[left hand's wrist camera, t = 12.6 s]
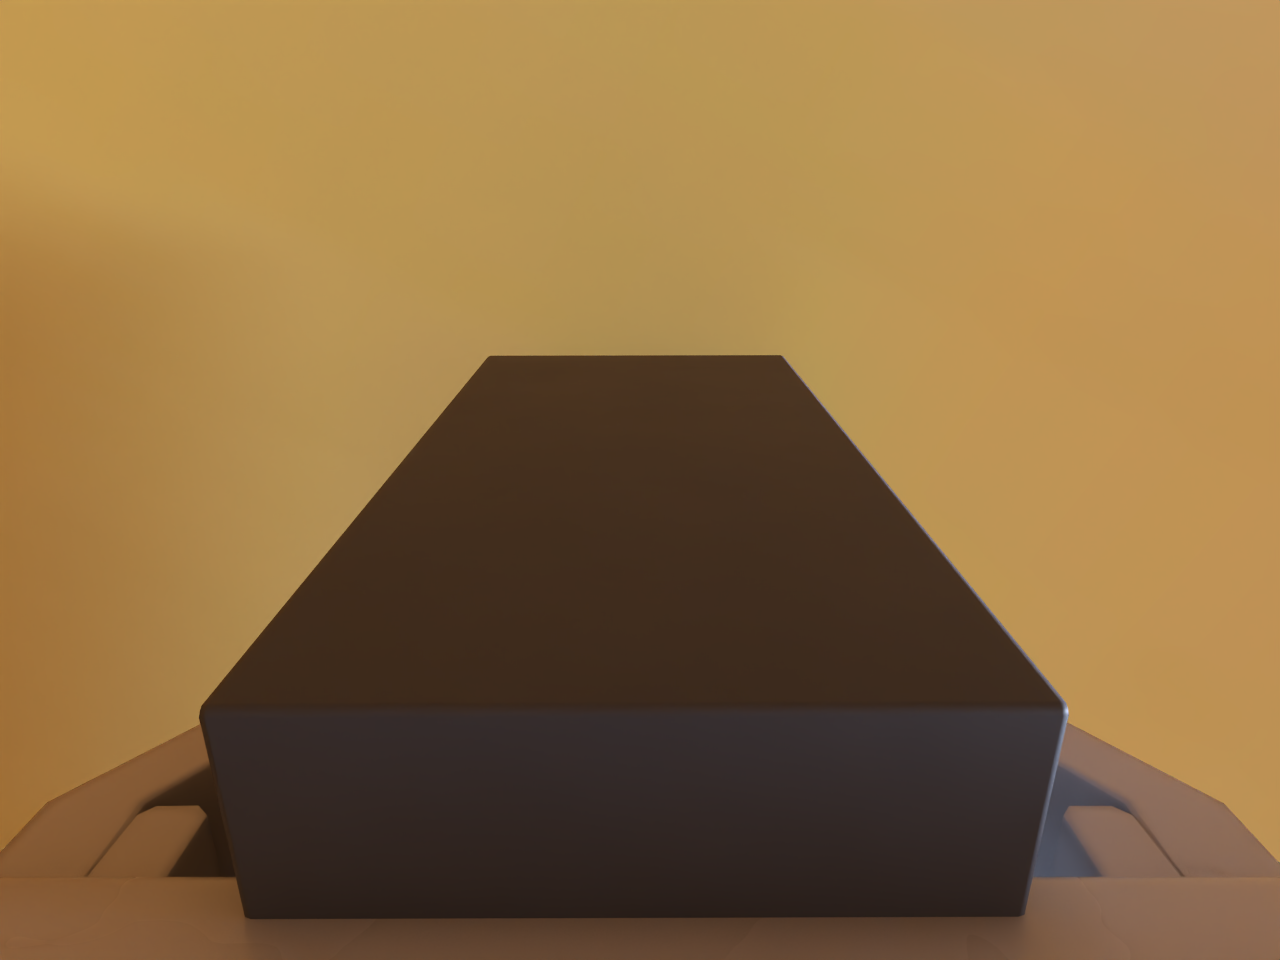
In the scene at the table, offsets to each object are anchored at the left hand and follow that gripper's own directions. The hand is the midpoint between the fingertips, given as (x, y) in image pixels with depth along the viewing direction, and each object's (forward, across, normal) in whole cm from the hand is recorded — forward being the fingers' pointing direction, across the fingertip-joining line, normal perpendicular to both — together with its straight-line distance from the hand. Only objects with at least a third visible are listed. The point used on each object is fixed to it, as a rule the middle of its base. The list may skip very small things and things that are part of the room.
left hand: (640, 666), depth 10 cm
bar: (+4, 0, -10) cm, 11 cm away
